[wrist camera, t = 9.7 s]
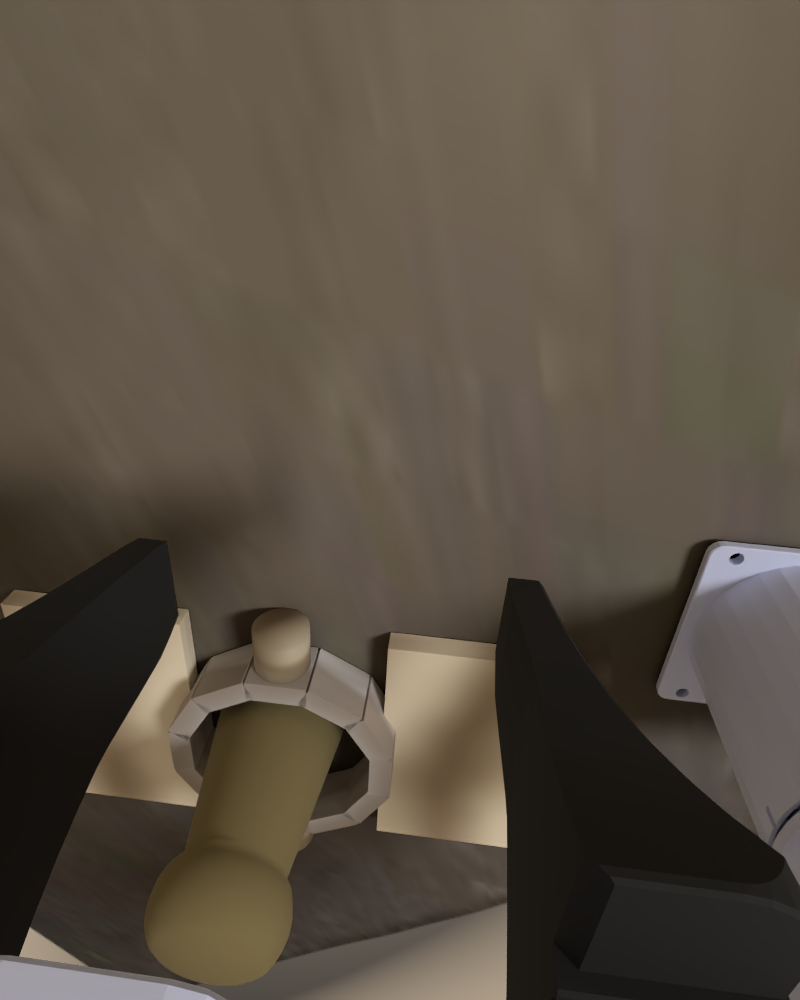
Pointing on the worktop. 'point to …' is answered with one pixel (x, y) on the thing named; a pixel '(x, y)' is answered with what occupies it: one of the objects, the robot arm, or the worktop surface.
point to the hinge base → (342, 700)
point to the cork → (242, 845)
